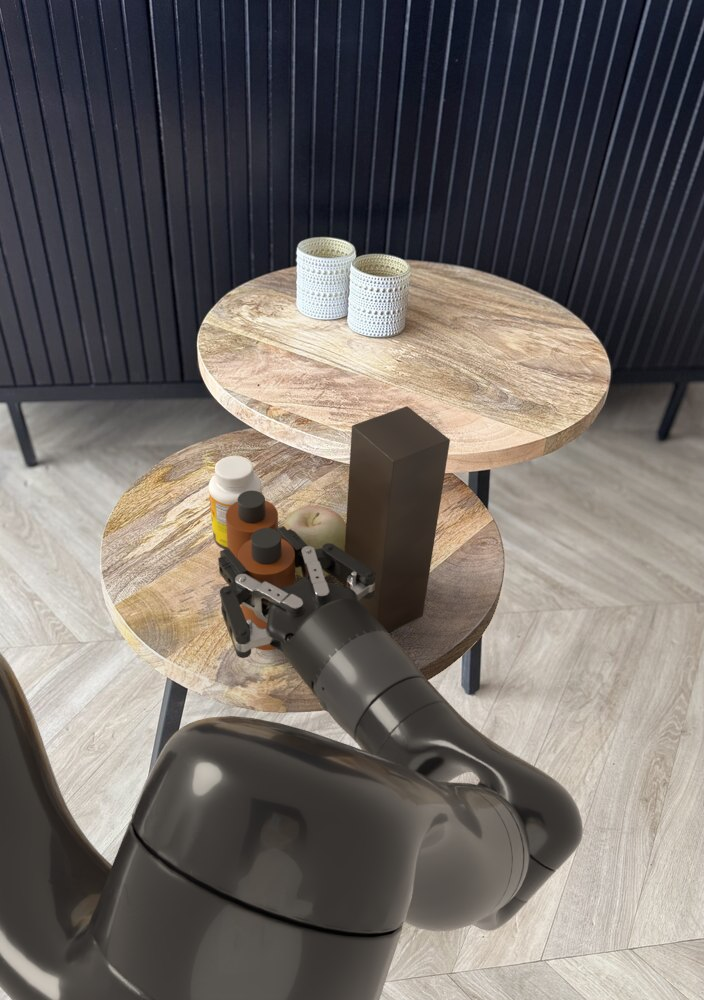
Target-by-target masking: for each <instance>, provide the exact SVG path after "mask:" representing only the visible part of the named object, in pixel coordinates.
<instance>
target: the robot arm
mask: <svg viewBox="0 0 704 1000" xmlns="http://www.w3.org/2000/svg"><path fill="white" fill-rule="evenodd" d="M276 530H277V531H278V532H279V533H280V535H281V538H282V539H284V540H286V541H287V542H289V543H290V544H291V545H292V547H293V549H294V551H295V567H296V568H298V567H300V566H301V571H302V575H303V577H301V578H300V579H298V580H297V581H295V583H294V584H293V585H290V586H285V587H282V588H280V589H279V588H277V587H275V586H274V585H272V584H270V583H268V582H266V581H264V582H263V583H261V582H259V581H257V580H256V579H254V578H252V577H250V576H248V575H247V570H246V569H245V568H244V566H243V565H242V564H241V563H240V562H239V560H238V559H237V558H236V557H235V555H234V554H233V553H232V552H231V551H230V549H229V548H227V549H224V550H220V552H219V555H220V557H218V558H217V560H218V570H219V571H218V572H219V575H220V576H221V578H223V580H224V581H225V583H226V584H227V585H225V586H223V587H221V588H220V590H219V597H220V601H221V602H220V603H221V604H220V605H221V607H220V609H221V615H222V617H223V620H224V622H225V627H226V629H227V631H228V635H229V636H230V639H231V643H232V645H233V649H234V651H235V654H236V656H237V657H238V658H241V659H246V658H248V657H250V655H252V649H257V648H256V647H260V646H264V645H267V644H269V645H270V646H272V647H273V648H275V649H276V650H278V651H279V652H281V653H283V655H284V656H285V657H286V659H287V660H288V662H289V664H290V665H291V666H292V667H293V669H294V671H296V673H297V674H298V675H299V677H300V678H301V679H302V681H303V682H304V683H305V685H307V687H308V688H309V690H310V691H311V692H312V694H313V695H314V696H315V697H316V698H317V700H318V702H319V704H320V706H321V707H322V709H323V710H324V711H326V712H327V713H328V714H329V715H330V716H331V718H332V719H333V721H334V722H335V723H336V724H337V725H338V726H339V727H340V728H341V729H342V730H343V731H344V732H345V733H346V734H348V735H349V737H350V738H352V740H353V741H354V742H355V743H356V744H357V745H358V747H359V748H358V747H355V746H353V745H350V744H347V743H344V742H342V741H338V740H335V739H332V738H329V737H327V736H323V735H321V734H317V733H315V732H312V731H309V730H307V729H306V730H305V729H302V728H300V727H299V728H298V727H295V726H291V725H287V724H284V723H281V722H276V721H269V720H264V719H259V718H254V717H246V716H236V715H227V716H225V715H224V716H213V717H206V718H200V719H197V720H195V721H191V722H189V723H188V724H186V725H184V726H182V727H181V728H179V729H178V730H176V731H175V732H174V734H173V735H171V736H170V738H169V739H168V740H167V742H166V743H165V744H164V746H163V748H162V749H161V751H160V752H159V754H158V756H157V758H156V760H155V762H154V763H153V764H152V765H153V766H152V767H151V769H150V772H149V774H148V775H147V777H146V779H145V781H144V783H143V786H142V789H141V791H140V794H139V796H138V798H137V801H136V803H135V805H134V808H133V811H132V814H131V819H130V821H129V822H128V825H127V827H126V829H125V832H124V835H123V837H122V840H121V842H120V844H119V847H118V850H117V853H116V855H115V857H114V860H113V862H112V864H111V863H110V862H109V860H108V859H106V858H105V857H104V856H103V855H102V854H101V853H100V852H99V850H98V849H97V848H96V847H95V846H94V845H93V843H92V842H91V841H90V840H89V838H88V837H87V836H86V834H85V833H84V831H83V829H81V827H80V825H78V823H77V821H76V820H75V817H74V816H73V814H72V812H71V810H70V809H69V807H68V805H67V802H66V800H65V798H64V795H63V793H62V790H61V788H60V786H59V783H58V781H57V778H56V775H55V773H54V770H53V767H52V764H51V761H50V758H49V756H48V753H47V750H46V747H45V744H44V741H43V738H42V734H41V731H40V729H39V727H38V723H37V720H36V717H35V714H34V713H33V711H32V708H31V704H30V703H29V701H28V698H27V696H26V693H25V692H24V689H23V687H22V685H21V684H20V682H19V680H18V678H17V675H16V674H15V672H14V670H13V669H12V667H11V665H10V663H9V662H8V660H7V659H6V658H5V656H4V655H3V653H2V652H0V988H1V990H2V991H3V992H4V993H5V994H6V995H7V996H8V997H9V999H10V1000H380V999H381V996H382V992H383V989H384V986H385V983H386V981H387V977H388V974H389V971H390V968H391V965H392V962H393V959H394V956H395V953H396V950H397V946H398V943H399V941H400V937H401V935H402V931H403V925H404V923H405V924H407V925H409V926H411V927H414V928H416V929H419V930H425V931H430V932H437V933H439V932H451V931H456V930H459V929H463V928H466V927H470V926H474V927H476V928H477V929H480V930H483V931H486V932H492V931H495V930H498V929H500V928H501V927H503V926H504V925H506V924H507V923H508V922H509V921H510V920H512V919H513V918H514V917H515V916H516V915H517V914H518V913H519V912H520V911H521V909H523V908H524V906H525V905H526V904H527V903H528V902H529V901H530V900H531V899H532V898H533V897H534V896H535V894H537V892H538V891H539V890H540V889H541V888H543V886H544V885H545V884H546V883H547V882H548V880H549V879H550V878H551V877H552V876H554V874H555V873H557V871H558V870H559V869H560V868H561V867H562V866H563V865H564V864H565V862H566V861H568V859H569V858H570V857H571V856H572V855H573V854H574V853H575V852H576V851H577V849H578V847H579V846H580V844H581V842H582V839H583V831H584V826H583V820H582V816H581V813H580V811H579V807H578V805H577V803H576V801H575V799H574V798H573V796H572V795H571V793H570V792H569V791H568V790H567V789H566V788H565V787H564V786H563V785H562V784H561V783H560V782H558V780H556V779H555V778H554V777H552V776H550V775H549V774H548V773H546V772H545V771H543V770H542V769H540V768H538V767H536V766H535V765H533V764H531V763H530V762H528V761H527V760H525V759H523V758H521V757H519V756H517V755H516V754H514V753H513V752H511V751H509V750H507V749H505V748H504V747H502V746H501V745H499V744H498V743H496V742H494V741H493V740H492V739H490V738H489V737H488V736H486V735H485V734H483V733H482V732H480V731H479V730H478V729H477V728H476V727H474V726H473V725H472V724H471V723H470V722H469V721H468V720H466V719H465V718H464V717H463V716H462V715H461V714H460V713H459V712H458V711H457V709H455V708H454V707H453V706H452V704H450V703H449V702H448V700H447V699H446V698H445V697H444V696H443V695H442V694H441V693H440V692H439V691H438V690H437V688H436V687H435V686H434V685H433V684H432V683H431V682H430V681H429V680H428V678H427V677H426V676H425V675H424V673H423V672H422V670H420V668H419V665H417V664H416V661H414V659H413V657H411V655H410V654H409V653H408V652H407V651H406V650H405V649H404V647H402V645H401V644H400V643H399V642H398V641H397V640H396V639H395V638H394V637H393V635H391V633H388V632H387V630H386V629H385V628H384V627H383V626H382V625H381V624H380V623H379V622H378V621H377V620H376V619H375V617H374V616H373V615H372V614H371V613H370V612H369V611H368V610H367V609H366V608H365V607H364V605H363V604H361V603H360V602H358V601H359V600H360V599H362V598H366V599H370V598H372V597H373V596H374V593H375V581H376V573H375V571H373V570H372V569H370V568H369V567H367V566H366V565H364V564H363V563H361V562H360V561H358V560H357V559H355V558H354V557H352V556H351V555H349V554H347V553H346V552H344V551H343V550H341V549H340V548H338V547H337V546H335V545H334V544H332V543H326V544H324V545H323V547H322V548H319V549H314V548H313V547H311V546H308V545H307V544H306V543H305V542H304V541H303V540H302V539H301V538H300V537H299V536H298V535H297V533H296V532H295V531H293V530H291V529H289V530H287V529H286V528H285V527H284V526H283V525H282V526H280V527H279V526H278V528H277V529H276ZM322 569H323V570H324V571H326V572H327V573H328V574H330V575H329V576H331V577H332V578H334V579H336V580H337V581H338V582H340V583H341V584H342V585H340V584H337V583H333V582H329V581H327V580H326V577H324V573H323V570H322ZM343 584H344V585H346V586H347V587H344V586H343ZM241 604H243V605H244V606H246V607H248V608H249V609H251V610H253V611H254V612H255V614H256V616H257V617H258V618H260V619H262V620H263V621H265V622H267V626H266V629H261V628H258V627H257V626H256V624H255V623H253V622H252V620H250V619H248V620H246V619H245V617H244V614H243V612H242V609H241ZM467 773H473V774H474V775H475V776H476V777H477V778H478V780H479V781H478V782H477V783H470V782H469V783H468V782H451V781H453V780H454V779H456V778H458V777H459V776H461V775H464V774H467Z"/></svg>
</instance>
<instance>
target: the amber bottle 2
mask: <svg viewBox="0 0 704 1000" xmlns="http://www.w3.org/2000/svg"><path fill="white" fill-rule="evenodd" d="M238 560H239V562H240V563H241V564H242V565H243V566H244V568H245V569H246V570H247V575H248V576H250V577H252V578H254V579H256V580H257V581H259V582H261V583H263V582H264V581H266V582H268V583H270V584H272V585H274V586H275V587H277V588H279V589H280V588H282V587H285V586H290V585H293V584H294V583H296V573H295V551H294V549H293V547H292V545H291V544H290V543H289V542H287V541H286V540H284V539H282V538H281V535H280V533H279V532H278V531H277V530H275V529H272V528H261V529H258V530H256V531H255V532H254V533H253V534H252V536H251V540H249V541H247V542H246V543H245V544H244V545H243V546H242V547H241V548H240V550H239V553H238ZM240 606H241V609H242V612H243V614H244V617H245V619H246V620H248V619H250V620H252V622H253V623H255V624H256V626H257V627H258V628H261V629H266V626H267V622H265V621H263V620H262V619H260V618H258V617H257V616H256V614H255V612H254V611H253V610H251V609H249V608H248V607H246V606H244V605H243V604H241V605H240ZM255 649H257V650H259V651H275V650H276V651H277V649H275V648H273V647H272V646H270V645H269V644H267V645H264V646H260V647H256V648H255Z"/></svg>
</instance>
